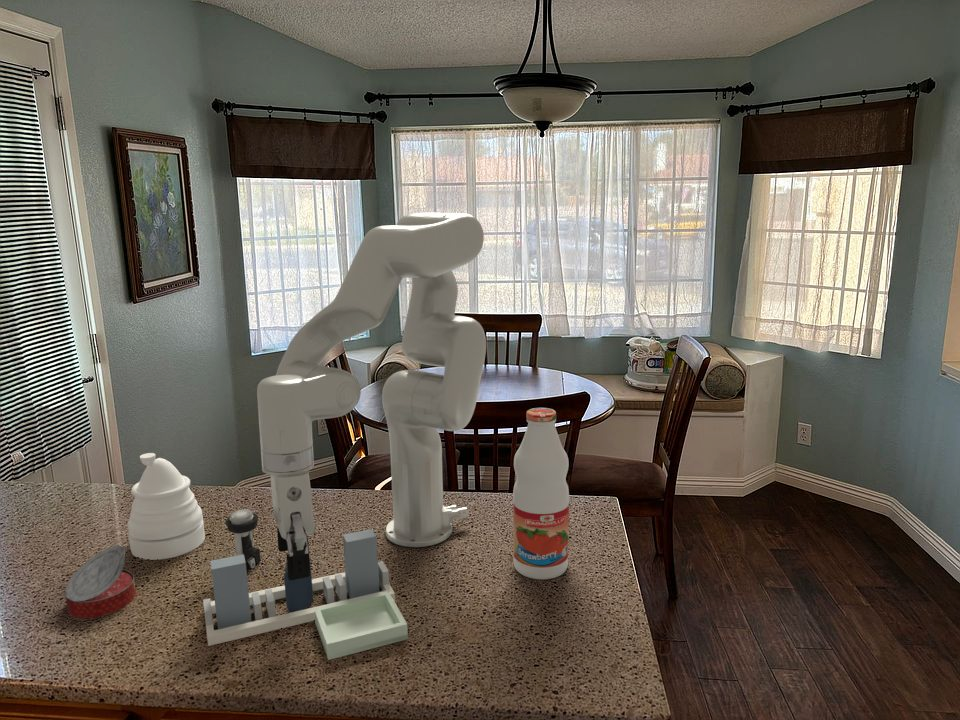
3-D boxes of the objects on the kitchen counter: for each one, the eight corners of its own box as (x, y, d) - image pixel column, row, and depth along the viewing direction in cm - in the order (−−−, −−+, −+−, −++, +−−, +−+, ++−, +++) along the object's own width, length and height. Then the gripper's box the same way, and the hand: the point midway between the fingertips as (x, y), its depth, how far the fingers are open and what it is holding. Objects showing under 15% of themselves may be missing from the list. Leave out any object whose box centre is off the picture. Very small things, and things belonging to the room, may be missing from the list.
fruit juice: (563, 552, 129) (565, 402, 123) (572, 580, 120) (574, 419, 114) (511, 554, 129) (510, 403, 123) (515, 582, 120) (515, 421, 114)
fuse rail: (378, 572, 124) (375, 518, 121) (395, 601, 115) (392, 543, 113) (204, 611, 113) (197, 552, 111) (208, 646, 104) (200, 583, 102)
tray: (389, 605, 114) (388, 591, 113) (407, 639, 105) (407, 623, 105) (315, 623, 109) (314, 608, 109) (328, 660, 101) (327, 644, 100)
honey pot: (159, 566, 127) (146, 470, 123) (116, 548, 134) (102, 456, 129) (219, 537, 137) (210, 447, 133) (176, 521, 144) (166, 436, 140)
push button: (244, 580, 122) (238, 526, 119) (218, 575, 124) (212, 521, 121) (268, 562, 128) (263, 509, 125) (244, 557, 130) (238, 505, 127)
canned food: (129, 633, 116) (120, 599, 109) (61, 634, 114) (47, 600, 107) (147, 571, 124) (139, 536, 118) (83, 571, 122) (71, 536, 116)
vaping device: (316, 598, 116) (311, 530, 113) (298, 616, 111) (292, 545, 108) (302, 596, 117) (297, 527, 114) (284, 613, 112) (277, 542, 109)
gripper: (324, 473, 102) (329, 584, 105) (303, 438, 117) (308, 535, 121) (269, 481, 99) (276, 595, 103) (255, 444, 114) (261, 544, 118)
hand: (293, 563), depth 112 cm, fingers open, 9 cm apart
